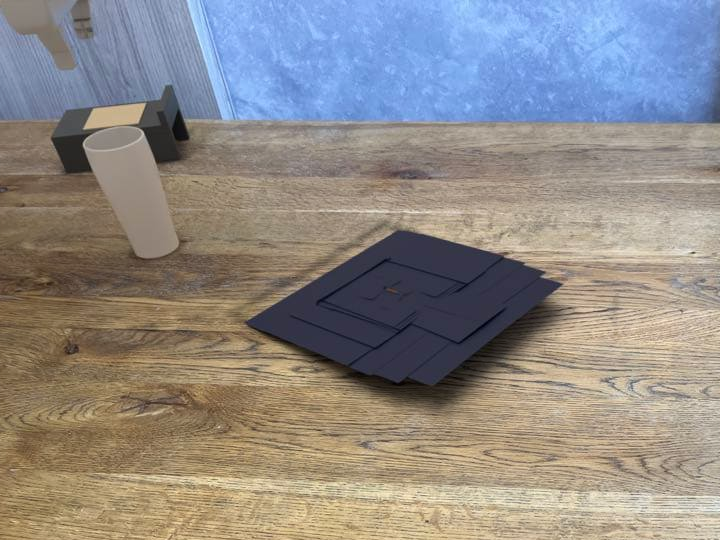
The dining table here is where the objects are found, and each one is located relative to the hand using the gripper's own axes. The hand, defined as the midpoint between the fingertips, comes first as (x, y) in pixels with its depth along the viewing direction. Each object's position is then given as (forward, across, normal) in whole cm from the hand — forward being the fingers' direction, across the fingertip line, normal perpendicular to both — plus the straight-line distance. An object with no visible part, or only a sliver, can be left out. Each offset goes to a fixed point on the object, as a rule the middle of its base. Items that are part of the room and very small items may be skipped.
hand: (79, 51), depth 85 cm
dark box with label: (+25, -31, -8) cm, 41 cm away
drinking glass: (+25, -1, 0) cm, 25 cm away
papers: (+25, +20, +29) cm, 43 cm away
